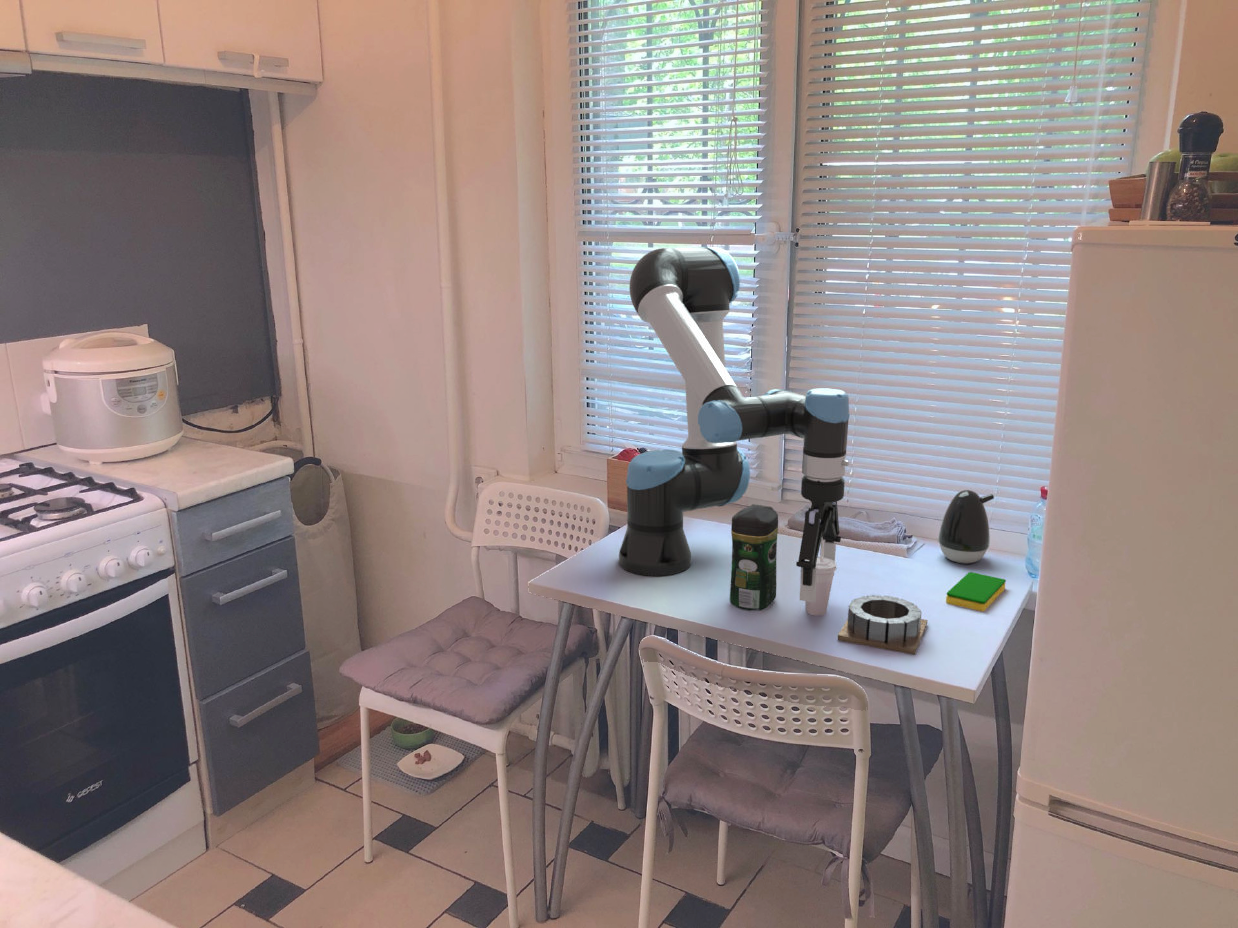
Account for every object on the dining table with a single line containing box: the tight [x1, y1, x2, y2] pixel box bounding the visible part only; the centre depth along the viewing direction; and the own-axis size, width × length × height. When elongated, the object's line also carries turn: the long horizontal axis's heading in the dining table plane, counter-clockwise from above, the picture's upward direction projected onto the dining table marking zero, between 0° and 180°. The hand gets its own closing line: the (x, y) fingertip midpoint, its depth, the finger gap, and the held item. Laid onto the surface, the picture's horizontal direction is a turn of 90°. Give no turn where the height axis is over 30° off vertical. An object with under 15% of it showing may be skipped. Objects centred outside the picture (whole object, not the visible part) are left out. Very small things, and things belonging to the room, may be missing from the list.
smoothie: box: [804, 538, 837, 616], centre depth 177 cm, size 6×6×14 cm
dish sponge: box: [945, 571, 1007, 612], centre depth 185 cm, size 7×14×2 cm, turn 143°
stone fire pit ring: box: [837, 594, 929, 656], centre depth 169 cm, size 13×13×4 cm
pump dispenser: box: [937, 489, 995, 564], centre depth 202 cm, size 10×10×15 cm
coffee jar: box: [729, 504, 779, 612], centre depth 180 cm, size 10×8×19 cm
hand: (817, 587), depth 177 cm, fingers open, 13 cm apart
